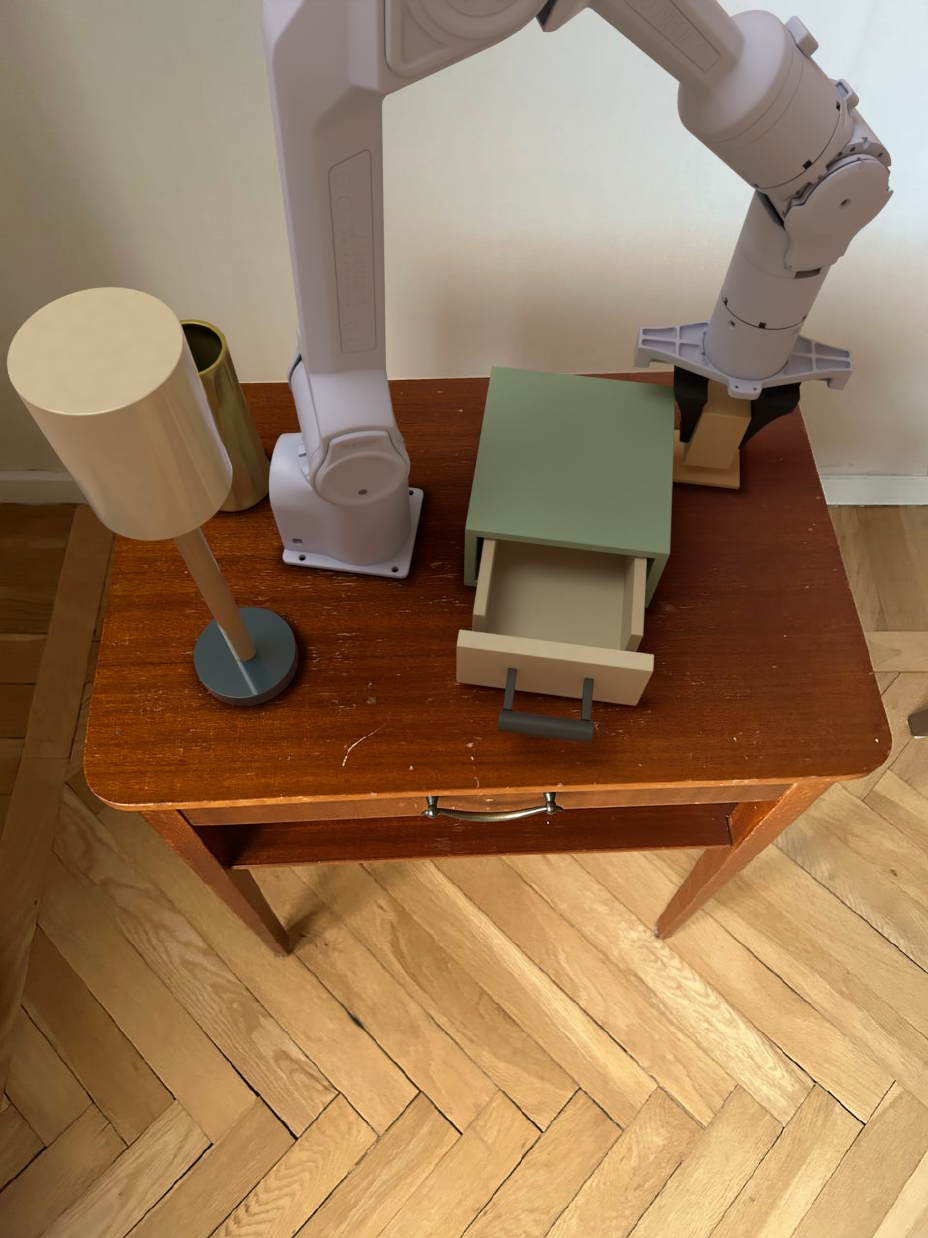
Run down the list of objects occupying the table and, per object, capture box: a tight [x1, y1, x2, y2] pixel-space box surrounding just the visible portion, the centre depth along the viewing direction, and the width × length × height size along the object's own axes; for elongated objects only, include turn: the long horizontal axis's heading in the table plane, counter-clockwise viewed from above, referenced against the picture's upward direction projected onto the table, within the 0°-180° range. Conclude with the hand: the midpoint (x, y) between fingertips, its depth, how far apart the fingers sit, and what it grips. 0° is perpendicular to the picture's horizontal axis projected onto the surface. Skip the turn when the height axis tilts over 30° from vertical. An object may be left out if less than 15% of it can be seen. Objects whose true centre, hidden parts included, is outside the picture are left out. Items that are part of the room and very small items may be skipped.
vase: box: [179, 318, 271, 512], centre depth 63 cm, size 6×6×14 cm
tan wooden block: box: [683, 379, 751, 470], centre depth 66 cm, size 4×4×6 cm
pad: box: [673, 429, 741, 490], centre depth 70 cm, size 6×5×1 cm
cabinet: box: [463, 365, 676, 609], centre depth 65 cm, size 15×14×8 cm
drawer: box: [455, 537, 655, 745], centre depth 60 cm, size 18×12×6 cm
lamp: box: [6, 286, 300, 707], centre depth 49 cm, size 7×7×30 cm
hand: (710, 435), depth 68 cm, fingers closed on tan wooden block, 3 cm apart
